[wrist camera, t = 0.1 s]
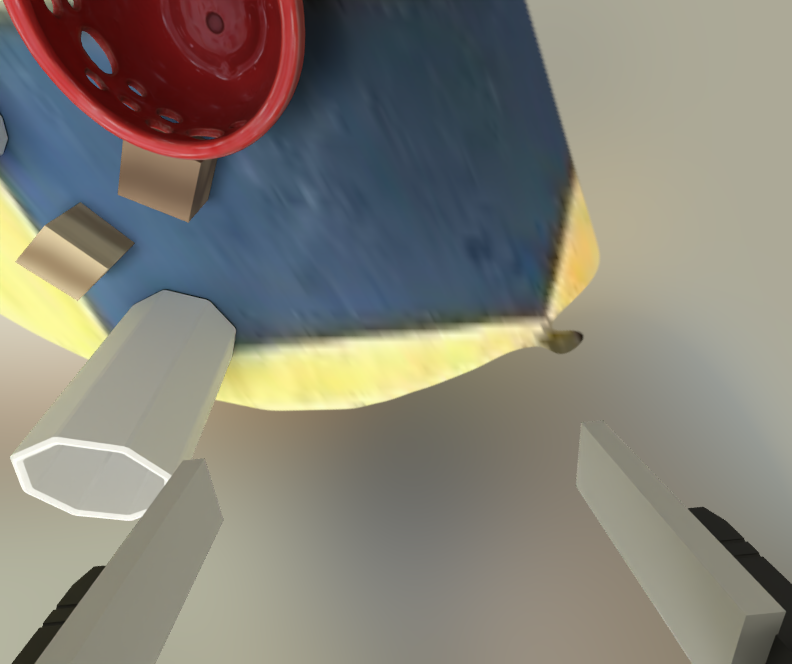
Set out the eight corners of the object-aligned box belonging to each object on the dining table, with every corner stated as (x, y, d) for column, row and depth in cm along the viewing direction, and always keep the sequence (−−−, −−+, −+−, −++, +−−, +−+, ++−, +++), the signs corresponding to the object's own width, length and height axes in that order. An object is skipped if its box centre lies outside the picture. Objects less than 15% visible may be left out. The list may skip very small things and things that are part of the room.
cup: (155, 269, 39) (30, 417, 25) (256, 326, 44) (203, 477, 30) (113, 336, 44) (-11, 494, 29) (210, 381, 49) (144, 534, 34)
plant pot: (291, 148, 33) (261, 201, 24) (114, 68, 29) (-7, 93, 20) (348, -46, 26) (337, -81, 17) (124, -187, 22) (-57, -340, 13)
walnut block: (154, 115, 31) (124, 128, 27) (220, 145, 33) (200, 163, 29) (146, 173, 34) (117, 194, 30) (208, 199, 35) (188, 222, 31)
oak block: (81, 201, 35) (44, 225, 31) (135, 242, 37) (108, 269, 34) (52, 235, 37) (15, 261, 33) (106, 272, 39) (77, 300, 35)
